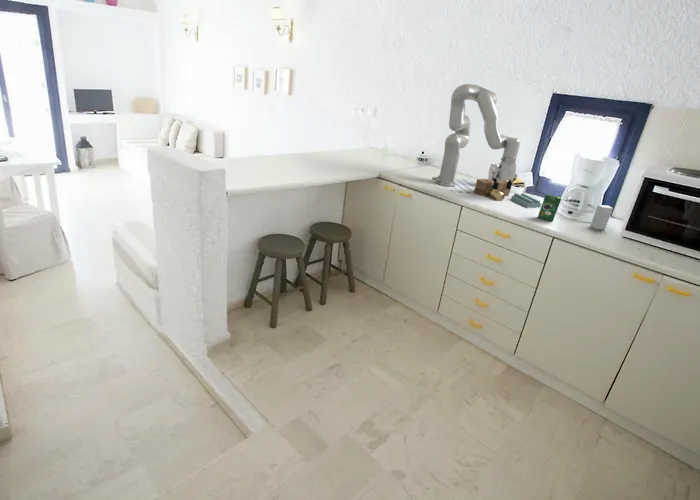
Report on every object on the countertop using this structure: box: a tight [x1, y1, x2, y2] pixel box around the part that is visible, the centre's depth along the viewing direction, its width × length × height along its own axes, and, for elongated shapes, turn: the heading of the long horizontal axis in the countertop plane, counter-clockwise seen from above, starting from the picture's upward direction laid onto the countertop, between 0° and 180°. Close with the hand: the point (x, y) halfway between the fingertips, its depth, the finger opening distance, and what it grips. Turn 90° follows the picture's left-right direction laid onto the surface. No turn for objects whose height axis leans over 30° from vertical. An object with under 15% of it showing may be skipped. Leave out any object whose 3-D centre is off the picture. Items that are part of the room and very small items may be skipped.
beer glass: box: [487, 163, 499, 179], centre depth 265 cm, size 7×7×15 cm
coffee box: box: [537, 193, 562, 222], centre depth 217 cm, size 8×3×13 cm, turn 62°
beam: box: [473, 178, 511, 197], centre depth 253 cm, size 20×8×8 cm, turn 110°
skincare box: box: [589, 204, 614, 230], centre depth 214 cm, size 6×4×12 cm
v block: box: [510, 192, 543, 209], centre depth 242 cm, size 10×14×4 cm
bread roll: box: [487, 186, 506, 202], centre depth 248 cm, size 16×5×5 cm, turn 20°
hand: (501, 189), depth 242 cm, fingers open, 9 cm apart
